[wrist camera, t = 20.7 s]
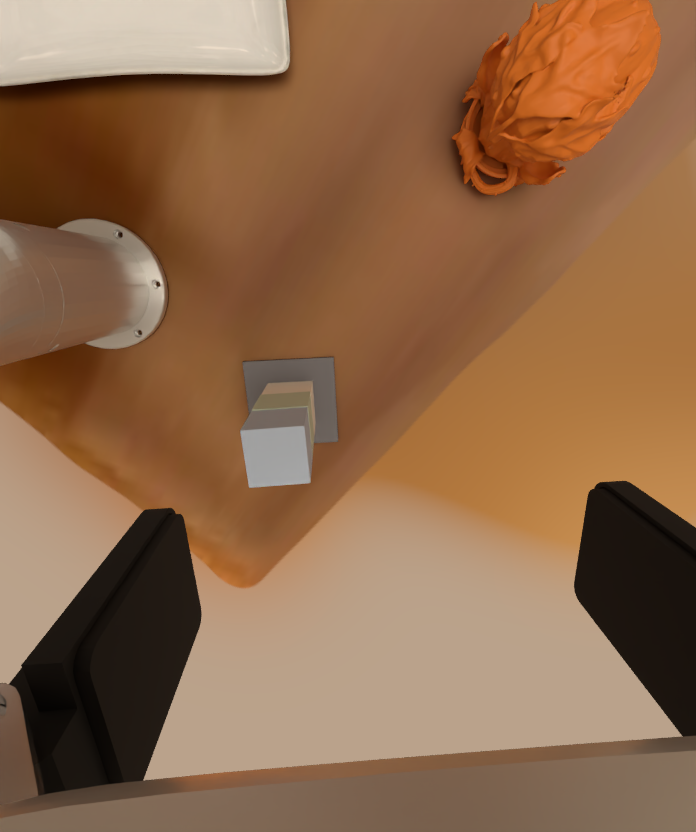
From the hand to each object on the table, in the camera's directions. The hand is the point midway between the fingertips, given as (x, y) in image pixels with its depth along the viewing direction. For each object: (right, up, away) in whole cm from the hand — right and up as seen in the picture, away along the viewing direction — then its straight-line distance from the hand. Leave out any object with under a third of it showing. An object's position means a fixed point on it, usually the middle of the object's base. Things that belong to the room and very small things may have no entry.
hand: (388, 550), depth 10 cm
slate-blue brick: (-7, +1, +29) cm, 30 cm away
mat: (-7, +5, +38) cm, 39 cm away
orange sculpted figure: (+14, +30, +31) cm, 45 cm away
